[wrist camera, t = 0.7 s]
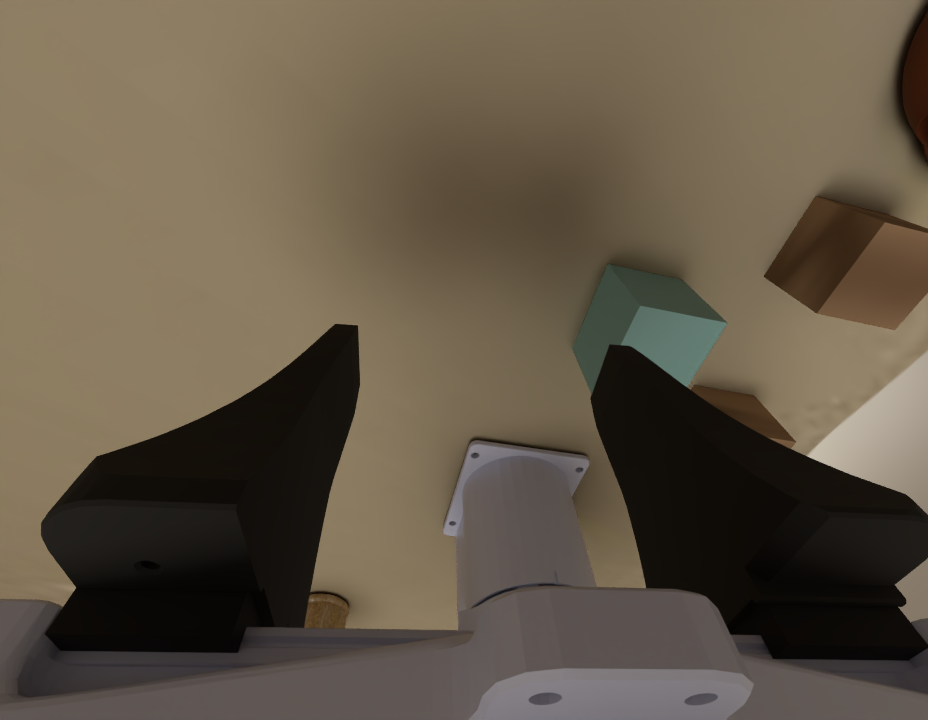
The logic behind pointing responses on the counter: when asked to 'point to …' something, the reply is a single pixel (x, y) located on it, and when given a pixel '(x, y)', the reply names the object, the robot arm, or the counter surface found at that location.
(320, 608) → the sprinkles bottle
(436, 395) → the counter surface
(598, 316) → the teal block
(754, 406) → the reddish brown cubic block
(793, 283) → the brown cube
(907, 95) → the poop emoji
